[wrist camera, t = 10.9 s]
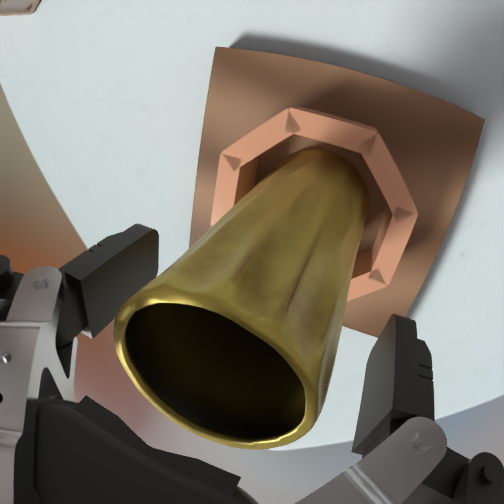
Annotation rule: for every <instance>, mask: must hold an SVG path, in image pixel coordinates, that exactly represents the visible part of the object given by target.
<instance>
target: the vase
mask: <svg viewBox="0 0 504 504" xmlns="http://www.w3.org/2000/svg"><path fill="white" fill-rule="evenodd" d="M368 211H369V196H368V190H367V187H366V184H365V182H364V180H363V179H362V177H361V176H360V174H359V173H358V171H357V170H356V169H355V167H354V166H353V165H352V164H351V163H350V162H349V161H347V160H346V159H344V158H342V157H341V156H339V155H337V154H335V153H333V152H329V151H324V150H303V151H300V152H297V153H295V154H293V155H291V156H289V157H288V158H286V159H285V160H283V161H282V162H281V163H280V164H279V165H278V166H277V168H276V169H275V170H274V171H273V172H271V173H270V174H269V175H267V176H266V177H265V178H264V179H263V180H262V181H260V182H259V183H258V184H257V185H256V186H255V187H254V188H253V189H252V190H251V191H250V192H249V193H248V194H246V195H245V196H244V197H243V198H242V199H241V200H240V201H239V202H238V203H237V204H236V205H234V206H233V207H232V208H231V209H230V210H229V211H228V212H227V213H226V214H224V215H223V216H222V217H221V218H220V219H219V220H218V221H217V222H216V223H215V224H214V225H213V226H212V227H211V228H210V229H209V230H208V231H207V232H206V233H205V234H204V235H203V236H202V237H201V238H200V239H199V240H198V241H197V242H196V243H195V244H194V245H193V246H192V247H191V248H190V249H188V250H187V251H186V252H185V253H184V254H183V255H182V256H181V257H180V258H179V259H178V260H177V261H175V262H174V263H173V264H172V265H171V266H170V267H169V268H168V269H166V270H165V271H164V272H163V273H162V274H161V275H159V276H157V277H156V278H154V279H153V280H152V281H150V282H149V283H148V284H147V285H145V286H144V287H143V288H141V289H140V290H139V291H138V292H137V293H136V294H134V295H133V296H132V297H131V298H129V299H128V300H127V301H126V302H125V303H124V304H123V305H122V306H121V307H120V309H119V311H118V313H117V315H116V318H115V323H114V331H113V335H114V343H115V348H116V352H117V355H118V357H119V359H120V362H121V363H122V365H123V367H124V369H125V371H126V372H127V374H128V375H129V377H130V378H131V380H132V382H133V383H134V384H135V386H136V387H137V389H138V390H139V391H140V392H141V393H142V394H143V395H144V396H145V397H146V398H147V399H148V400H149V401H150V402H151V403H152V404H153V405H154V406H155V407H156V408H157V409H158V410H159V411H161V412H162V413H163V414H164V415H165V416H166V417H168V418H169V419H171V420H172V421H173V422H175V423H176V424H178V425H180V426H181V427H183V428H185V429H186V430H188V431H190V432H192V433H194V434H196V435H198V436H200V437H203V438H205V439H208V440H211V441H214V442H217V443H220V444H223V445H226V446H230V447H235V448H241V449H269V448H274V447H279V446H283V445H287V444H289V443H292V442H294V441H296V440H298V439H299V438H301V437H302V436H304V435H305V434H306V433H307V432H309V431H310V430H311V429H312V427H313V426H314V424H315V422H316V421H317V419H318V417H319V415H320V413H321V410H322V408H323V405H324V402H325V398H326V395H327V391H328V387H329V383H330V379H331V375H332V371H333V367H334V362H335V357H336V352H337V347H338V342H339V338H340V333H341V328H342V324H343V319H344V314H345V309H346V303H347V297H348V292H349V287H350V282H351V277H352V273H353V268H354V264H355V259H356V255H357V251H358V248H359V244H360V241H361V237H362V233H363V229H364V223H365V221H366V219H367V216H368Z"/></svg>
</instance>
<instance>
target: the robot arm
mask: <svg viewBox="0 0 504 504" xmlns="http://www.w3.org/2000/svg"><path fill="white" fill-rule="evenodd" d="M158 252H159V234H158V232H157V230H155V229H152V228H149V227H146V226H144V225H141V224H135V225H133V226H132V227H130V228H128V229H127V230H125V231H124V232H121V233H117V234H114V235H111V236H108V237H106V238H105V239H103V240H102V241H100V242H98V243H97V245H94V246H92V247H91V248H89V250H88V251H87V250H86V251H85V252H83V253H82V254H80V255H79V256H77V257H76V258H74V259H73V260H71V261H70V262H68V263H67V264H65V265H64V266H62V267H61V268H60V269H56V268H54V267H49V266H42V267H37V268H34V269H32V270H30V271H28V272H27V273H26V274H22V273H18V272H13V271H12V267H11V264H10V260H9V259H8V257H6V256H3V255H0V504H258V503H257V501H256V500H255V499H254V498H253V497H251V496H250V495H249V494H248V493H246V491H244V490H242V489H241V488H240V487H238V486H237V485H238V483H239V480H240V478H241V477H239V476H237V475H234V474H232V473H229V472H227V471H224V470H222V469H219V468H217V467H215V466H213V465H210V464H208V463H206V462H204V461H201V460H199V459H196V458H191V457H187V456H183V455H178V454H174V453H170V452H166V451H163V450H159V449H155V448H152V447H150V446H149V445H147V444H146V443H145V442H144V441H143V440H142V439H141V438H140V437H138V436H137V435H136V434H135V433H134V432H133V431H132V430H131V429H130V428H129V427H128V426H127V425H126V424H125V423H124V422H123V421H122V420H121V419H120V418H119V417H118V416H117V415H115V414H114V413H112V412H111V411H109V410H107V409H106V408H104V407H103V406H101V405H100V404H98V403H96V402H95V401H94V400H92V399H91V398H89V397H88V396H85V397H84V398H83V399H82V400H81V401H80V402H79V403H77V402H76V399H75V394H74V373H75V361H76V351H77V337H76V336H77V335H78V334H79V333H80V332H82V333H84V334H85V335H87V336H88V337H90V338H92V339H93V338H94V337H95V336H96V335H97V334H98V333H100V332H101V331H102V330H103V329H104V328H105V327H106V326H107V325H108V324H109V323H110V322H111V321H112V320H113V319H114V318H115V317H116V315H117V313H118V311H119V309H120V307H121V306H122V305H123V304H124V303H125V302H126V301H127V300H128V299H129V298H131V297H132V296H133V295H134V294H136V293H137V292H138V291H139V290H140V289H141V288H143V287H144V286H145V285H147V284H148V283H149V282H150V281H152V280H153V279H154V278H156V276H157V273H158ZM432 380H433V370H432V357H431V353H430V351H429V349H428V347H427V345H426V343H425V341H423V340H420V339H417V329H416V322H415V320H412V319H409V318H406V317H403V316H400V315H397V314H392V315H391V317H390V318H389V320H388V322H387V324H386V325H385V327H384V329H383V331H382V333H381V334H380V336H379V338H378V340H377V341H376V343H375V345H374V347H373V349H372V351H371V353H370V355H369V358H368V361H367V365H366V372H365V379H364V386H363V393H362V399H361V405H360V411H359V416H358V422H357V427H356V432H355V437H354V442H353V447H352V452H353V453H357V454H361V455H363V456H362V459H361V460H360V461H359V462H358V463H356V464H355V465H354V466H352V467H349V468H348V469H346V470H345V471H344V472H342V473H341V474H339V475H338V476H336V477H335V478H334V479H332V480H331V481H329V482H328V483H326V484H325V485H323V486H322V487H320V488H319V489H318V490H316V491H314V492H313V493H311V494H310V495H308V496H306V497H305V498H303V499H302V500H300V501H298V502H297V503H295V504H504V467H503V465H502V463H501V461H500V460H499V459H498V458H497V457H496V456H494V455H493V454H491V453H487V452H483V453H479V454H477V455H476V456H474V457H473V458H472V459H468V458H466V457H464V456H462V455H460V454H459V453H457V452H454V451H453V450H451V449H450V448H448V447H447V439H446V436H445V433H444V432H443V430H442V428H441V427H440V426H439V425H438V424H437V423H436V422H435V419H434V387H433V381H432Z"/></svg>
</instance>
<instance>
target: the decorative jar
mask: <svg viewBox="0 0 504 504" xmlns="http://www.w3.org/2000/svg"><path fill="white" fill-rule="evenodd" d="M39 2H40V0H0V16H9V15H29V14H32V13H34V11H35V9H36V7H37V5H38V4H39Z"/></svg>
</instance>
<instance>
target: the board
mask: <svg viewBox="0 0 504 504" xmlns="http://www.w3.org/2000/svg"><path fill="white" fill-rule="evenodd" d="M293 107H305V108H309V109H313V110H317V111H321V112H324V113H328V114H332V115H336V116H339V117H343V118H346V119H349V120H353V121H356V122H359V123H363V124H366V125H369V126H372V127H375V128H376V129H378V131H379V133H380V134H381V136H382V138H383V140H384V142H385V143H386V145H387V147H388V149H389V151H390V153H391V155H392V157H393V158H394V160H395V162H396V164H397V166H398V168H399V170H400V172H401V174H402V176H403V178H404V180H405V182H406V185H407V187H408V189H409V191H410V193H411V195H412V198H413V200H414V203H415V206H416V208H417V211H418V217H417V219H416V222H415V224H414V227H413V229H412V232H411V234H410V237H409V239H408V242H407V244H406V247H405V249H404V251H403V254H402V256H401V258H400V261H399V263H398V265H397V268H396V270H395V272H394V274H393V276H392V279H391V281H390V283H389V285H387V287H385V288H382V289H379V290H377V291H374V292H371V293H369V294H366V295H363V296H361V297H358V298H355V299H353V300H350V301H347V303H346V309H345V314H344V319H343V324H342V326H345V327H347V328H350V329H353V330H356V331H359V332H362V333H365V334H368V335H371V336H374V337H377V338H379V336H380V334H381V333H382V331H383V329H384V327H385V325H386V324H387V322H388V320H389V318H390V317H391V315H392V314H397V315H400V316H403V317H405V316H406V314H407V312H408V310H409V309H410V307H411V305H412V303H413V301H414V299H415V297H416V295H417V293H418V292H419V290H420V288H421V286H422V284H423V282H424V280H425V278H426V276H427V274H428V272H429V269H430V267H431V265H432V263H433V261H434V259H435V257H436V255H437V252H438V250H439V248H440V246H441V243H442V241H443V239H444V237H445V234H446V232H447V229H448V227H449V225H450V222H451V220H452V217H453V215H454V212H455V210H456V207H457V205H458V202H459V199H460V197H461V194H462V191H463V188H464V186H465V183H466V180H467V177H468V174H469V171H470V168H471V165H472V162H473V159H474V156H475V152H476V149H477V146H478V142H479V139H480V135H481V132H482V128H483V124H484V121H485V119H483V118H481V117H479V116H477V115H475V114H472V113H470V112H468V111H466V110H464V109H461V108H459V107H457V106H455V105H452V104H450V103H448V102H445V101H443V100H440V99H438V98H435V97H433V96H430V95H428V94H425V93H423V92H420V91H417V90H414V89H412V88H409V87H406V86H403V85H400V84H397V83H394V82H391V81H388V80H385V79H382V78H379V77H375V76H372V75H368V74H365V73H361V72H358V71H354V70H350V69H347V68H343V67H339V66H335V65H330V64H326V63H322V62H317V61H312V60H307V59H302V58H297V57H292V56H286V55H280V54H274V53H268V52H261V51H253V50H245V49H236V48H226V47H216V48H215V54H214V59H213V65H212V71H211V77H210V83H209V89H208V95H207V102H206V108H205V115H204V122H203V129H202V136H201V143H200V151H199V159H198V167H197V175H196V184H195V193H194V202H193V211H192V221H191V232H190V243H189V249H190V248H191V247H192V246H193V245H194V244H195V243H196V242H197V241H198V240H199V239H200V238H201V237H202V236H203V235H204V234H205V233H206V232H207V231H208V230H209V229H210V228H211V226H212V225H210V224H211V216H212V209H213V201H214V194H215V187H216V180H217V173H218V166H219V159H220V153H222V151H224V150H225V149H226V148H228V147H229V146H231V145H232V144H234V143H235V142H237V141H238V140H239V139H241V138H242V137H244V136H245V135H247V134H248V133H250V132H251V131H253V130H254V129H256V128H257V127H259V126H260V125H262V124H263V123H265V122H267V121H268V120H270V119H271V118H273V117H274V116H276V115H277V114H279V113H281V112H282V111H284V110H285V109H287V108H293ZM303 150H324V151H329V152H333V153H335V154H337V155H339V156H341V157H342V158H344V159H346V160H347V161H349V162H350V163H351V164H352V165H353V166H354V167H355V169H356V170H357V171H358V173H359V174H360V176H361V177H362V179H363V180H364V182H365V184H366V187H367V190H368V196H369V211H368V216H367V219H366V221H365V223H364V229H363V233H362V237H361V241H360V244H359V248H358V251H357V254H358V253H361V252H363V251H365V250H368V249H370V248H372V247H373V245H374V242H375V239H376V237H377V234H378V231H379V229H380V226H381V223H382V220H383V218H384V215H385V212H386V209H387V206H388V203H387V201H386V199H385V197H384V195H383V193H382V191H381V189H380V187H379V185H378V184H377V182H376V180H375V178H374V176H373V174H372V172H371V170H370V168H369V167H368V165H367V163H366V161H365V159H364V158H363V156H362V154H361V153H359V152H355V151H352V150H349V149H346V148H343V147H339V146H336V145H333V144H329V143H326V142H322V141H319V140H315V139H311V138H308V137H304V136H300V135H295V136H293V137H291V138H290V139H288V140H286V141H285V142H283V143H281V144H280V145H278V146H277V147H275V148H273V149H272V150H270V151H268V152H267V153H265V154H264V155H262V156H260V157H259V161H258V167H257V172H256V177H255V182H254V187H255V186H256V185H257V184H258V183H259V182H260V181H262V180H263V179H264V178H265V177H266V176H267V175H269V174H270V173H271V172H273V171H274V170H275V169H276V168H277V166H278V165H279V164H280V163H281V162H282V161H283V160H285V159H286V158H288V157H289V156H291V155H293V154H295V153H297V152H300V151H303Z"/></svg>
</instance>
